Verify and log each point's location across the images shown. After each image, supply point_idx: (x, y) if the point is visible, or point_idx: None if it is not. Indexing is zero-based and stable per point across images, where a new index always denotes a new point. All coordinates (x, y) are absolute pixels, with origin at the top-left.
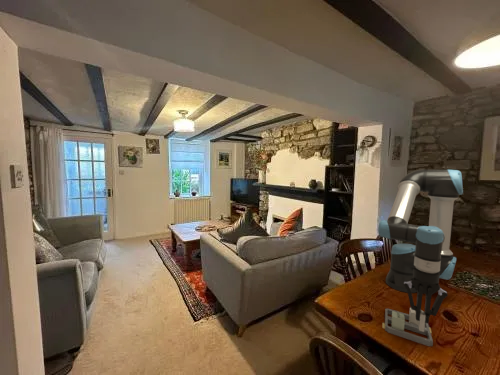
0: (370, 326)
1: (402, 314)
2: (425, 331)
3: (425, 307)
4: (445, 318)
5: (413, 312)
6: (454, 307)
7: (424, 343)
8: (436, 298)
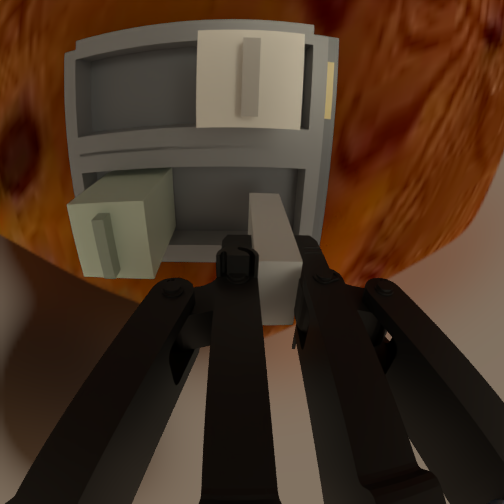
0: (48, 213)
1: (131, 210)
2: (293, 166)
3: (308, 353)
4: None
5: (220, 113)
6: None
7: None
8: (472, 435)
